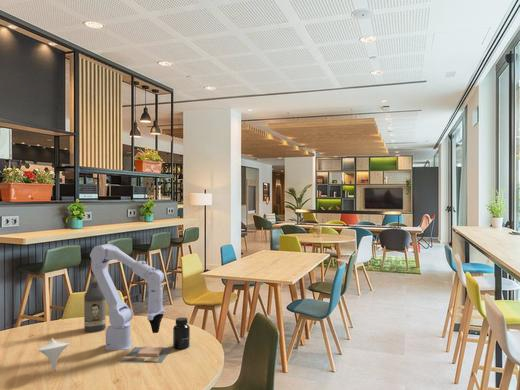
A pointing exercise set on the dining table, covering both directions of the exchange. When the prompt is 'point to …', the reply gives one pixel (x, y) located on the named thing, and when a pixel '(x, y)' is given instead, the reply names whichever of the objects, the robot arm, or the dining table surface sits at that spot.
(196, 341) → the dining table surface
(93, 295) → the liquor
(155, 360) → the turner
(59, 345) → the white spinning top
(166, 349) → the mat
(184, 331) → the supplement bottle
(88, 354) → the dining table surface
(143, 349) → the tile
